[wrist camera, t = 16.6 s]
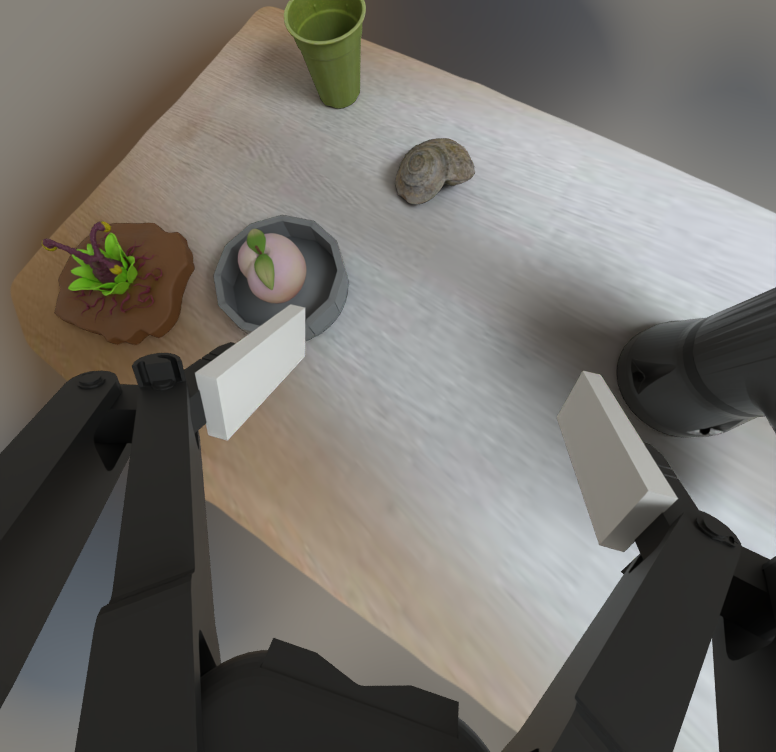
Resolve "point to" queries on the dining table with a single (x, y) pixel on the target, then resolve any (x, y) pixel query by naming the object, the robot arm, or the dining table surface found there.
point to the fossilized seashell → (432, 169)
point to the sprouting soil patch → (124, 281)
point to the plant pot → (329, 45)
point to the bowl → (317, 294)
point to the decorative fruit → (272, 266)
